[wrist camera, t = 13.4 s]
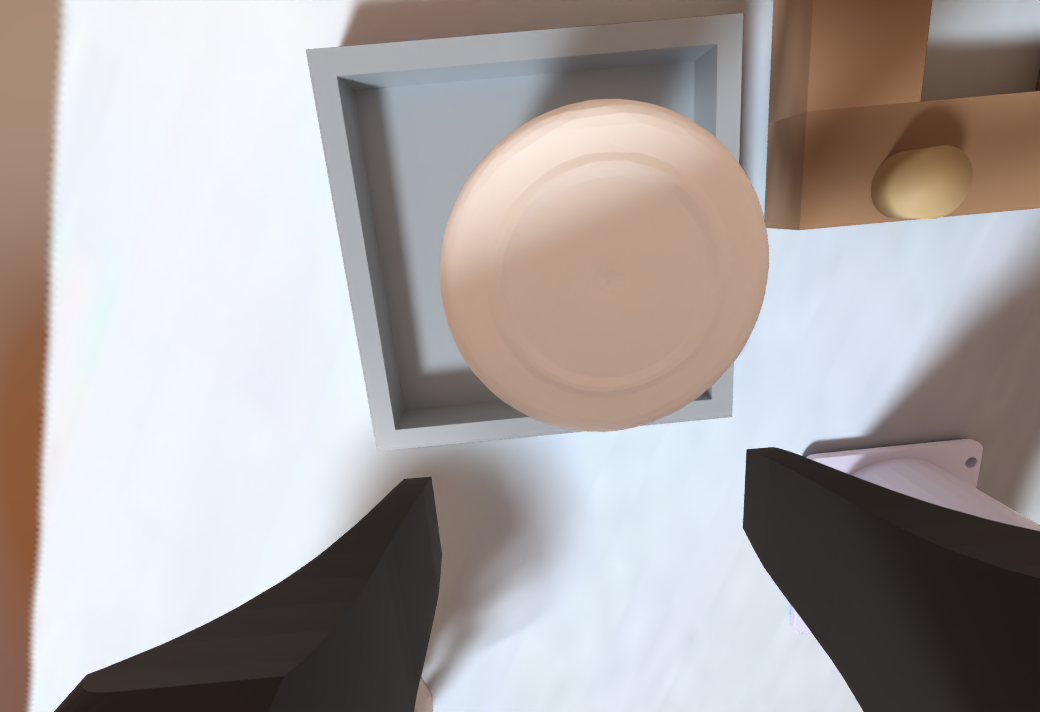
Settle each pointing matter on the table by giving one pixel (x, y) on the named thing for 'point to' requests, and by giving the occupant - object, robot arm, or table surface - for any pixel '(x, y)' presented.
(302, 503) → the table surface
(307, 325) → the table surface
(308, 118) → the table surface
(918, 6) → the socket block
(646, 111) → the sprinkles bottle
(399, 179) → the tray
